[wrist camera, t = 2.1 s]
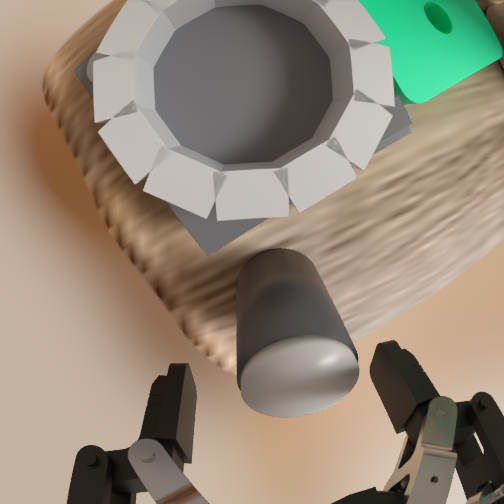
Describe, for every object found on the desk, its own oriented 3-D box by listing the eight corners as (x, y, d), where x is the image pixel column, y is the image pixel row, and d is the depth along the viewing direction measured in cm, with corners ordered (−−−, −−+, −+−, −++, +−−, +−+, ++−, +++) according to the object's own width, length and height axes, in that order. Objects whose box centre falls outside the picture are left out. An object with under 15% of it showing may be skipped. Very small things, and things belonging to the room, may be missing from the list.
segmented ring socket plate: (269, -13, 9) (286, -75, 4) (370, 129, 13) (440, 135, 7) (112, 82, 11) (47, 63, 6) (215, 224, 15) (202, 281, 9)
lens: (320, 245, 15) (375, 332, 9) (315, 315, 18) (349, 409, 11) (233, 252, 15) (229, 349, 8) (240, 321, 17) (242, 423, 11)
